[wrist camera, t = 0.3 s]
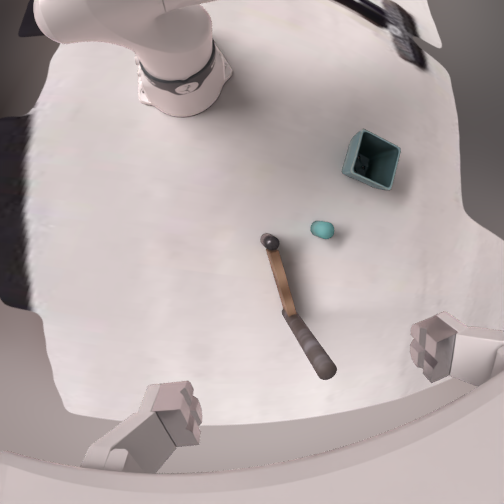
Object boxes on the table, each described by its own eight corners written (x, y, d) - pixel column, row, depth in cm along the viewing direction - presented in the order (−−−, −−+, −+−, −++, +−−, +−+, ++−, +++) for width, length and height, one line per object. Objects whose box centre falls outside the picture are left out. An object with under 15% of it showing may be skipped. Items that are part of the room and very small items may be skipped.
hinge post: (258, 235, 56) (263, 239, 50) (271, 231, 56) (277, 234, 51) (262, 247, 57) (267, 252, 51) (274, 243, 57) (280, 248, 51)
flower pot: (368, 192, 57) (391, 191, 49) (331, 177, 56) (350, 172, 47) (378, 154, 56) (401, 148, 48) (342, 137, 55) (362, 127, 46)
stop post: (308, 223, 57) (316, 224, 52) (322, 218, 57) (332, 220, 52) (312, 238, 58) (321, 241, 53) (326, 233, 58) (336, 236, 53)
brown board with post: (263, 250, 56) (292, 280, 33) (276, 245, 56) (314, 273, 33) (283, 319, 59) (319, 382, 36) (296, 315, 59) (338, 375, 36)
